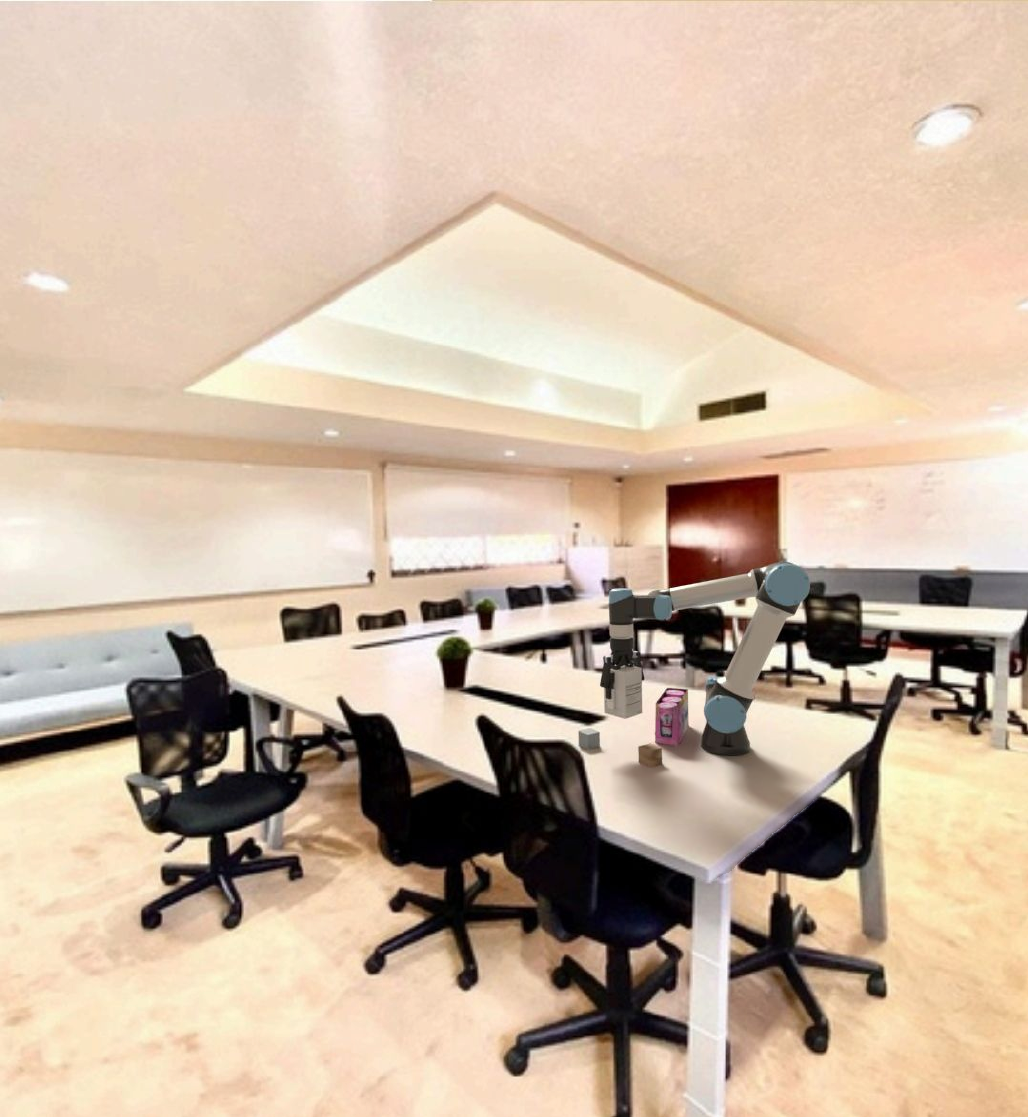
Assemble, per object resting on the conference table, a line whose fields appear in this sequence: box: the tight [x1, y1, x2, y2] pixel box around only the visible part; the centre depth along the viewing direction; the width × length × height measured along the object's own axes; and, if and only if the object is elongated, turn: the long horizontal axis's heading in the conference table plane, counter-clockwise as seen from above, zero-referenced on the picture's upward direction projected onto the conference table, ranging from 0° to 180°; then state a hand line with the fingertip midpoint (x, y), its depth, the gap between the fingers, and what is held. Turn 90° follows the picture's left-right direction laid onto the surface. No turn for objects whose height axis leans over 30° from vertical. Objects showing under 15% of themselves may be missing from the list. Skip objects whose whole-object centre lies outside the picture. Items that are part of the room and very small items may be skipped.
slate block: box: [578, 727, 601, 751], centre depth 201 cm, size 5×5×5 cm
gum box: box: [654, 687, 690, 746], centre depth 209 cm, size 24×8×14 cm, turn 155°
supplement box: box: [603, 665, 643, 720], centre depth 193 cm, size 9×9×15 cm
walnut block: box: [637, 742, 663, 768], centre depth 185 cm, size 5×5×5 cm
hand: (623, 705), depth 193 cm, fingers closed on supplement box, 9 cm apart
